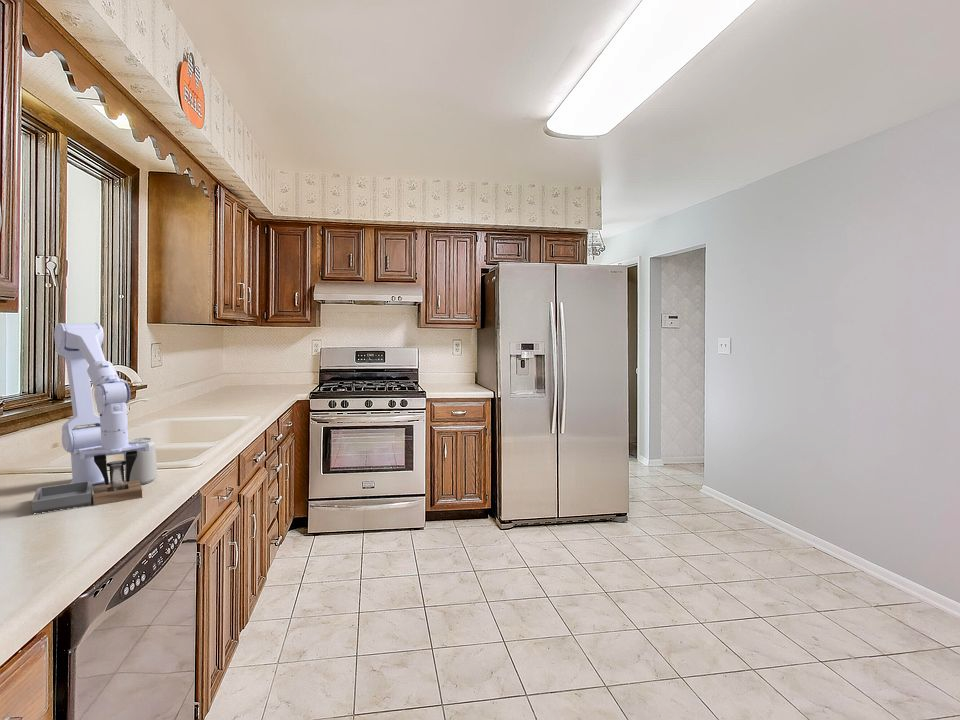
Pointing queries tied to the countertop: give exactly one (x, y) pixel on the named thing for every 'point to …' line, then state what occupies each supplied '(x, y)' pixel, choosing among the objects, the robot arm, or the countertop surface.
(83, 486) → the tray
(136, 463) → the can
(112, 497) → the hitch block
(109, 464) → the pin
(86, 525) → the countertop surface
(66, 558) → the countertop surface
